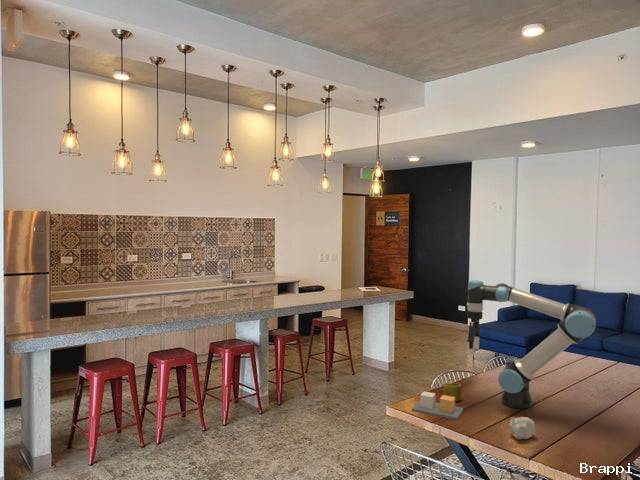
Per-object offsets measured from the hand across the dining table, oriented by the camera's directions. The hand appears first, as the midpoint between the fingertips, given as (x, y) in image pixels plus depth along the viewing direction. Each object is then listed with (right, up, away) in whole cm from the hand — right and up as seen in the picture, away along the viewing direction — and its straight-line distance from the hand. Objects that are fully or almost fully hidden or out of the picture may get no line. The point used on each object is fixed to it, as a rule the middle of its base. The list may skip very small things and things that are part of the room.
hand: (473, 351), depth 246 cm
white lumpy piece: (+9, -28, -37) cm, 47 cm away
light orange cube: (-17, -26, -12) cm, 33 cm away
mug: (-9, -27, +8) cm, 29 cm away
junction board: (-21, -27, -10) cm, 35 cm away
